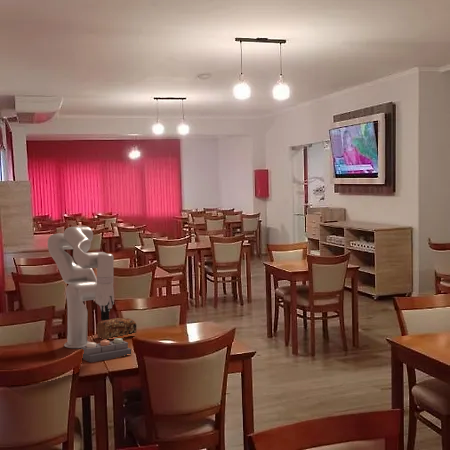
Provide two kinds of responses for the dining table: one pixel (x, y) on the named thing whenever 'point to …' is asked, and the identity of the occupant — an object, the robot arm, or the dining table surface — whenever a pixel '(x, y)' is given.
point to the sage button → (118, 340)
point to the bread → (116, 327)
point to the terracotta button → (104, 342)
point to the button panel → (105, 351)
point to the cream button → (91, 345)
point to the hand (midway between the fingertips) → (105, 319)
